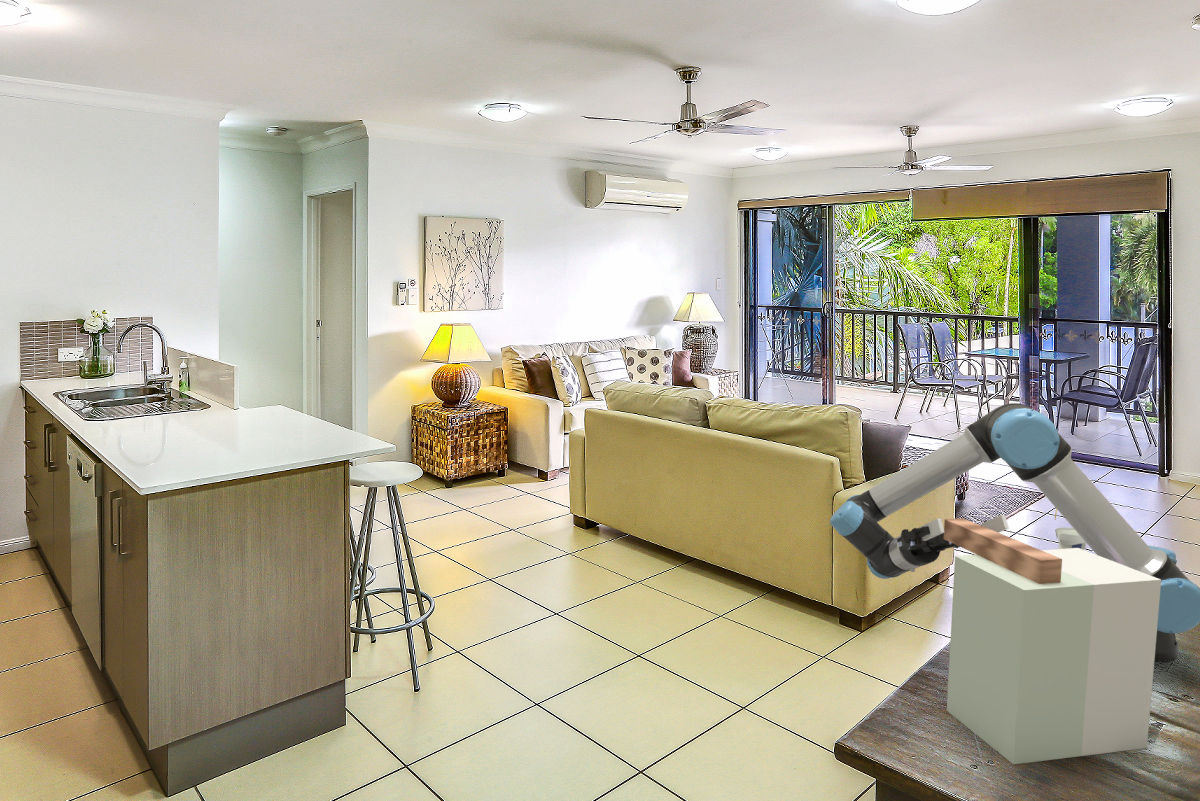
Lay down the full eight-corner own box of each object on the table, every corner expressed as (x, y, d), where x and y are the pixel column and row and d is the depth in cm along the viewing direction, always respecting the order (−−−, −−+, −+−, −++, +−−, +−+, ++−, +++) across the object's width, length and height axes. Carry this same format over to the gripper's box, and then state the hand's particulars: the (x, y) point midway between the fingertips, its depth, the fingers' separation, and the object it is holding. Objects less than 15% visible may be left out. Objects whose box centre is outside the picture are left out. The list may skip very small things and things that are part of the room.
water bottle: (1056, 610, 198) (1063, 512, 195) (1043, 598, 207) (1050, 504, 204) (1092, 612, 197) (1100, 514, 194) (1078, 600, 205) (1085, 505, 203)
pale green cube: (946, 710, 149) (954, 556, 146) (1067, 697, 154) (1078, 547, 151) (1013, 764, 132) (1024, 590, 128) (1146, 748, 137) (1161, 579, 133)
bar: (943, 539, 157) (944, 519, 156) (961, 537, 157) (962, 518, 157) (1039, 583, 131) (1041, 560, 131) (1060, 582, 132) (1062, 559, 132)
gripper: (972, 562, 171) (1037, 539, 152) (865, 570, 166) (918, 546, 147) (962, 528, 174) (1025, 501, 154) (857, 534, 169) (908, 507, 150)
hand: (973, 523), depth 151 cm, fingers open, 13 cm apart
